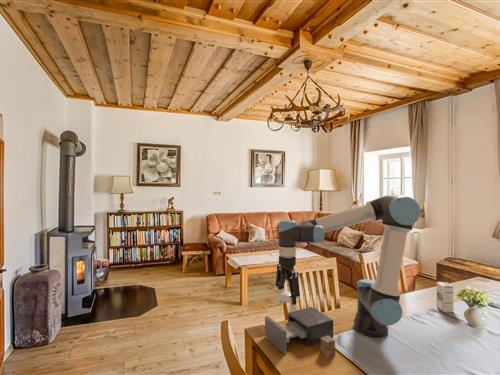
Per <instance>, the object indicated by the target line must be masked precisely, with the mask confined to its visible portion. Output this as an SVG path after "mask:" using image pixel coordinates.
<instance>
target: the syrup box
mask: <svg viewBox="0 0 500 375" xmlns="http://www.w3.org/2000/svg"><path fill="white" fill-rule="evenodd" d="M436 308H437V309H438V310H440V311H441V312H443V313H454V308H455V307H454V285H452V284H450V283H449V282H446V281H437V282H436Z"/></svg>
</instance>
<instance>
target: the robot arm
mask: <svg viewBox="0 0 500 375" xmlns="http://www.w3.org/2000/svg"><path fill="white" fill-rule="evenodd" d="M421 213H422V211H421V207H420V205H419V203H418V202H417V201H416V200H415V199H414V198H412V197H411V196H410V197H409V196H406V195H398V194H396V195H395V194H388V195H385V196H381V197H379V198H378V197H377V198H376V199H373V200H370V201H367V202H365V204H363V205H359V206H357V207H353V208H350V209H346V210H341V211H338V212H335V213H332V214H327V215H325V216H322V217H317V218H314V219H310V220H303V221H301V222H299V224H297V221H296V220H293V219H283V220H282V219H281V220H280V221H279V223H278V265H276V277H275V287H277V290H278V293H279V292H281V291H286V290H285V288H286V287H285V284H286V281H287V283H288V284H287V285H288V287H289V288H288V289H289V291H290V293H291V296H290V303H289V312H294V311H297V297H300V296H301V293H300V280H299V277H300V276H299V274H300V273H299V272H297V271H295V266H296V265H297V257H296V255H297V243H305V244H307V243H311V244H312V243H313V244H319V243H324V240H325V233H329V232H331V231H335V230H340V229H342V228H347V227H350V226H353V225H357V224H361V223H364V222H368V221H371V222H377V221H381V225H382V226H383V228H384V231H383V237H382V243H381V247H380V253H379V254H380V255H379V260H378V265H377V271H376V277H375V279H369V278H368V279H367V278H365V279H359V280H358V281H357V287H356V288H357V291H356V292H357V294H356V295H357V296H356V297H357V300H356V301H357V311H356V313H355V317H354V319H353V328H354V330H355V331H357V333H359V334H361V335H363V336H368V337H372V338H383V337H386V336H387V335H388V334H389V326H394V325H395V324H398V323H399V321H400V320H401V319H402V317H403V308H402V306H401V304H400V299H401V292H400V291H399V290H398V288H399V287H398V285H399V279H400V275H401V269H402V264H403V258H404V253H405V246H406V243H407V236H408V233H409V232H411V231H413V227H414V224H415V223H416V222H418V221H419V219H420V217H421ZM285 303H286V302H281V301H279V300H278V305H284V304H285Z"/></svg>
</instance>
